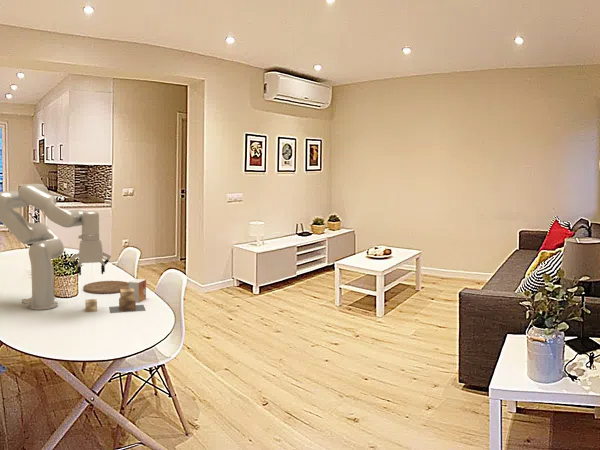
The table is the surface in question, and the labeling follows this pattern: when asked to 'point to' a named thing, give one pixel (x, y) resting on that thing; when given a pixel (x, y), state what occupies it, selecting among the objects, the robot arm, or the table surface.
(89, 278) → the table surface
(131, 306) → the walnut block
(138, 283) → the small box
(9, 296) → the table surface
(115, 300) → the table surface
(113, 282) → the trivet
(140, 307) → the slate mat
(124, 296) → the oak block
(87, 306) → the maple cube
